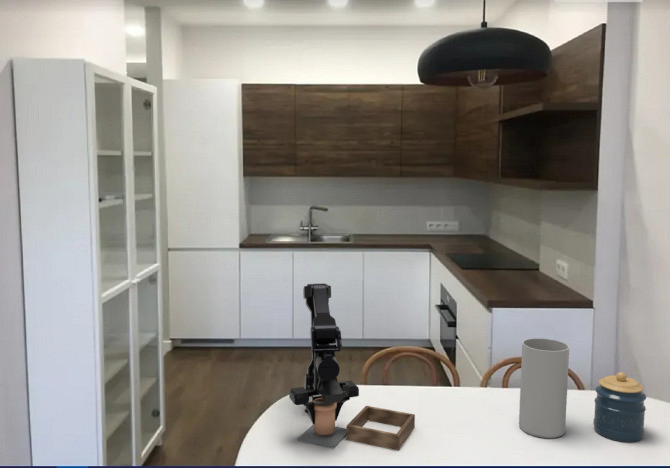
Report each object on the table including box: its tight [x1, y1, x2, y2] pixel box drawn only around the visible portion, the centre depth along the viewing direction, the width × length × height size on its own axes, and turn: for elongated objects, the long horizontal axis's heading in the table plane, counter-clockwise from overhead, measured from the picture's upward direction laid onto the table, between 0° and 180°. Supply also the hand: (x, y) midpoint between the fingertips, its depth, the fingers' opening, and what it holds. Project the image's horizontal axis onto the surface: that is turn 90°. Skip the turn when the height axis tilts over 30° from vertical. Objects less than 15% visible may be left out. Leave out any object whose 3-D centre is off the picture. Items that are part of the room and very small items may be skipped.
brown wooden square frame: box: [345, 405, 416, 451], centre depth 161 cm, size 15×15×4 cm
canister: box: [593, 371, 647, 443], centre depth 162 cm, size 13×13×18 cm
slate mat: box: [297, 424, 347, 449], centre depth 160 cm, size 11×11×1 cm
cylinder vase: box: [518, 337, 570, 439], centre depth 164 cm, size 12×12×25 cm
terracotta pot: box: [313, 398, 337, 435], centre depth 159 cm, size 7×7×8 cm
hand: (324, 422), depth 160 cm, fingers open, 6 cm apart
